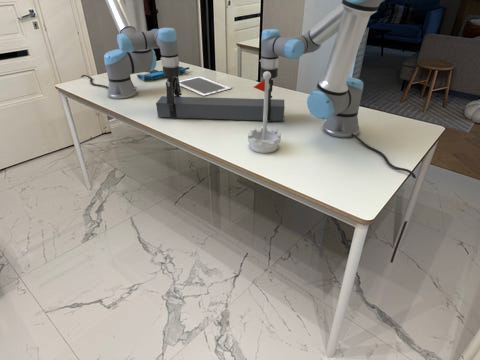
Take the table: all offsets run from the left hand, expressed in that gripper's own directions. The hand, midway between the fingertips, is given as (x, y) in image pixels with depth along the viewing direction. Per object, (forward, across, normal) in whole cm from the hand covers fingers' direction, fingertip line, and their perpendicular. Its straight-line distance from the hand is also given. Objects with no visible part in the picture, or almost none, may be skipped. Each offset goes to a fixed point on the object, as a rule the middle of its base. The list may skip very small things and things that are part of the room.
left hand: (176, 112), depth 165 cm
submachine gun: (+2, -68, -26) cm, 73 cm away
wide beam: (+1, 0, +22) cm, 22 cm away
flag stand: (+1, +30, +44) cm, 53 cm away
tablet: (+2, -45, +4) cm, 46 cm away
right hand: (0, 0, +44) cm, 44 cm away
